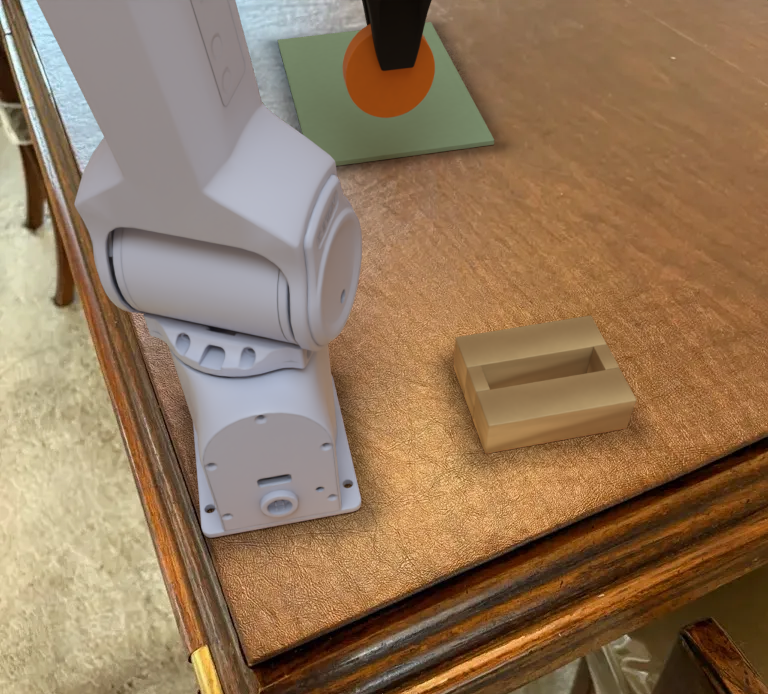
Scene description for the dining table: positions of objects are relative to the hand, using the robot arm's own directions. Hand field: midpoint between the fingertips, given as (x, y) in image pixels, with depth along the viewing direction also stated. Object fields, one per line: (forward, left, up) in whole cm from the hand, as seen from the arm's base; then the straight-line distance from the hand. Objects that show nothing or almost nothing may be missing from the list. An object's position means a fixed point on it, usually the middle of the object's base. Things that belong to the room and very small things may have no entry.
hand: (393, 59), depth 48 cm
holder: (-20, -4, -10) cm, 23 cm away
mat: (+15, -2, -10) cm, 18 cm away
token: (0, 0, -1) cm, 1 cm away
